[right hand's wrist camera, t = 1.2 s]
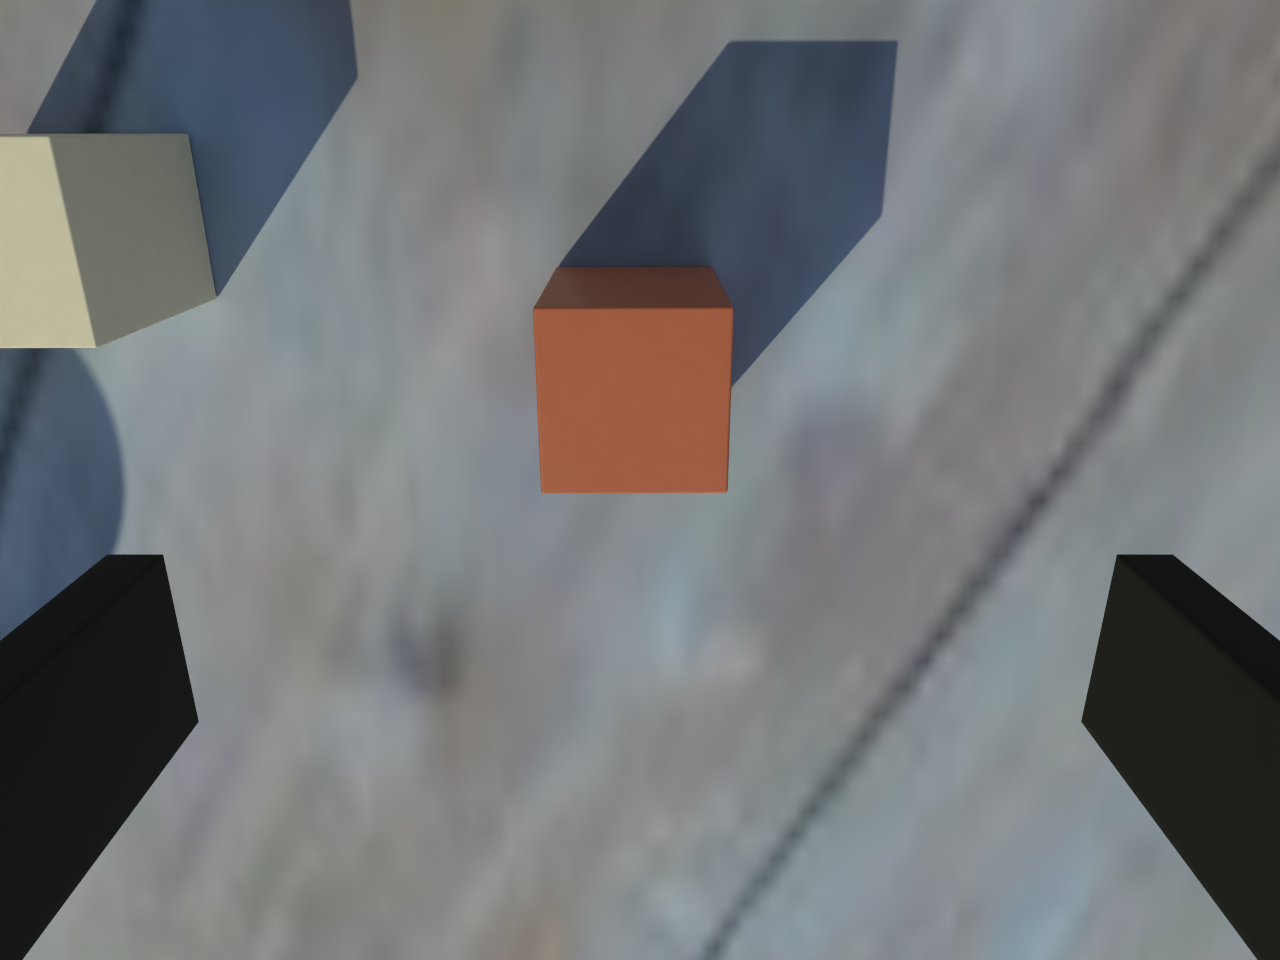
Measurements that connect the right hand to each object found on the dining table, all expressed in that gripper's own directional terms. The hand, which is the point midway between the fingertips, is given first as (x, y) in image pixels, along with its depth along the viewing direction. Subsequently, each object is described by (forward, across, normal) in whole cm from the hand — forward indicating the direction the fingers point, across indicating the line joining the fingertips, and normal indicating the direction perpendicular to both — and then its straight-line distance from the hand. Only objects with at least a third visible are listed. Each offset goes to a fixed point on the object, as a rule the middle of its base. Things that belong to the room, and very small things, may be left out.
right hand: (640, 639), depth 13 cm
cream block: (+18, -16, +4) cm, 25 cm away
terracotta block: (+18, 0, 0) cm, 18 cm away
